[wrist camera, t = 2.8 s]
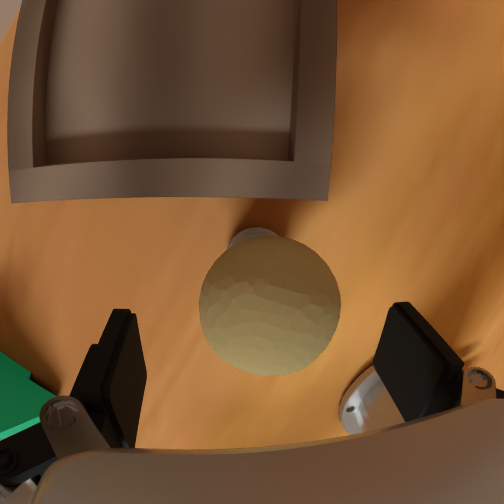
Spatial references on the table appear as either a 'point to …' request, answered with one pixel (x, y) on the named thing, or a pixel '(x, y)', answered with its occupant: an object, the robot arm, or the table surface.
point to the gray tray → (172, 99)
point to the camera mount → (18, 398)
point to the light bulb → (269, 304)
